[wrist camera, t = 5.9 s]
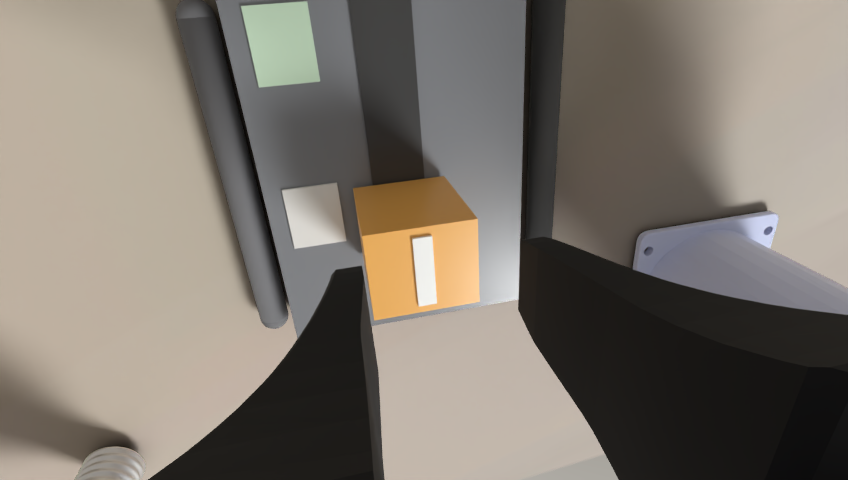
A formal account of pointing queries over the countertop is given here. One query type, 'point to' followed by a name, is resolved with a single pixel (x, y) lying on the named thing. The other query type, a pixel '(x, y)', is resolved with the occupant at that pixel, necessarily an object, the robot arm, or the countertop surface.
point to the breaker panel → (380, 124)
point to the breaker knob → (417, 246)
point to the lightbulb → (112, 465)
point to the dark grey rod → (544, 114)
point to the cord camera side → (232, 155)
